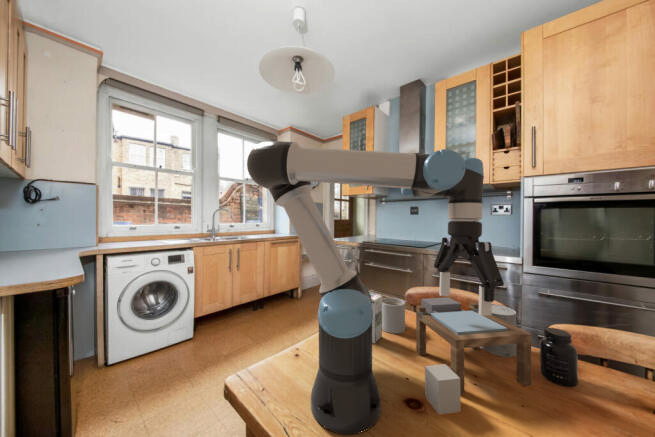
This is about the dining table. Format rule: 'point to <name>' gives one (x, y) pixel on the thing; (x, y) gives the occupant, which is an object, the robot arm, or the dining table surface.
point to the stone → (442, 388)
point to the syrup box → (376, 317)
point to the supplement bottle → (559, 358)
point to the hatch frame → (476, 343)
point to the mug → (393, 315)
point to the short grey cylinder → (509, 317)
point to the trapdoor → (459, 317)
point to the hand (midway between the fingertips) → (462, 304)
